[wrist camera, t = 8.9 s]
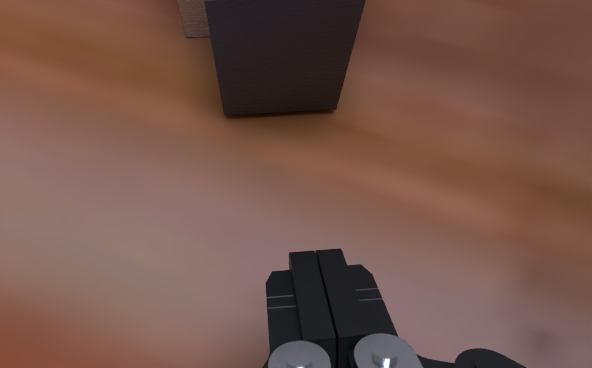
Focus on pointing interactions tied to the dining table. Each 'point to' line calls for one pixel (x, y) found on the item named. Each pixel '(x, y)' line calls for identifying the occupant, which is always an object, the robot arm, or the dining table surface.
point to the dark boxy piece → (281, 52)
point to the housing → (194, 18)
